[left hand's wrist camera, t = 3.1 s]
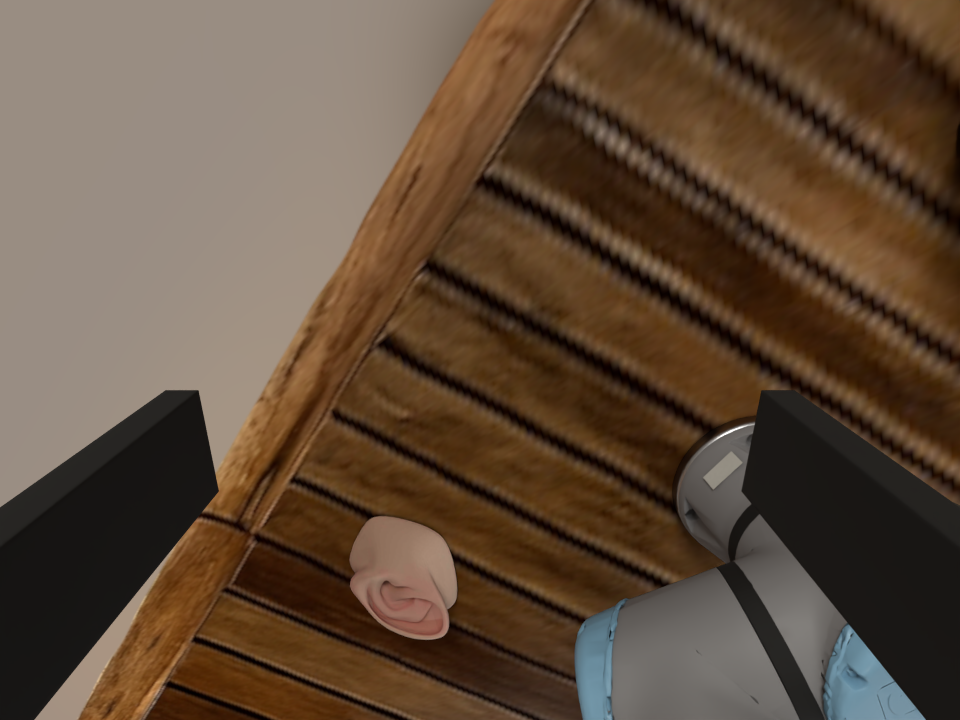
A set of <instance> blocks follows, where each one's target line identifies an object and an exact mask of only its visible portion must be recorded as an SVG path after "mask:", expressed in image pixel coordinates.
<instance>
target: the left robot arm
mask: <svg viewBox="0 0 960 720" xmlns="http://www.w3.org/2000/svg"><path fill="white" fill-rule="evenodd" d="M218 492H219V490H218V485H217V480H216V475H215V470H214V465H213V460H212V455H211V450H210V445H209V440H208V436H207V430H206V425H205V420H204V415H203V411H202V406H201V401H200V396H199V391H198V390H166V391H164V392H163V393H161V394H160V395H158V396H157V397H156V398H154V399H153V400H151V401H150V402H149V403H147V404H146V405H144V406H143V407H141V408H140V409H139V410H137V411H136V412H134V413H133V414H132V415H130V416H129V417H127V418H126V419H124V420H123V421H122V422H120V423H119V424H117V425H116V426H115V427H113V428H112V429H110V430H109V431H108V432H106V433H105V434H103V435H102V436H101V437H99V438H98V439H96V440H95V441H93V442H92V443H91V444H89V445H88V446H86V447H85V448H84V449H82V450H81V451H79V452H78V453H76V454H75V455H74V456H72V457H71V458H69V459H68V460H67V461H65V462H64V463H62V464H61V465H60V466H58V467H57V468H55V469H54V470H53V471H51V472H50V473H48V474H47V475H45V476H44V477H43V478H41V479H40V480H38V481H37V482H36V483H34V484H33V485H31V486H30V487H28V488H27V489H26V490H24V491H23V492H21V493H20V494H19V495H17V496H16V497H14V498H13V499H12V500H10V501H9V502H7V503H6V504H4V505H3V506H2V507H0V720H34V719H35V718H36V717H37V716H38V714H39V713H40V712H41V711H42V709H43V708H44V707H45V706H46V705H47V703H48V702H49V701H50V700H51V698H52V697H53V696H54V695H55V693H56V692H57V691H58V690H59V688H60V687H61V686H62V685H63V683H64V682H65V681H66V680H67V678H68V677H69V676H70V675H71V674H72V672H73V671H74V670H75V669H76V667H77V666H78V665H79V664H80V662H81V661H82V660H83V659H84V657H85V656H86V655H87V654H88V653H89V651H90V650H91V649H92V647H93V646H94V645H95V644H96V643H97V641H98V640H99V639H100V638H101V636H102V635H103V634H104V633H105V631H106V630H107V629H108V628H109V626H110V625H111V624H112V623H113V622H114V620H115V619H116V618H117V617H118V615H119V614H120V613H121V612H122V610H123V609H124V608H125V607H126V605H127V604H128V603H129V602H130V601H131V599H132V598H133V597H134V596H135V594H136V593H137V592H138V591H139V589H140V588H141V587H142V586H143V584H144V583H145V582H146V581H147V579H148V578H149V577H150V576H151V574H152V573H153V572H154V571H155V570H156V568H157V567H158V566H159V565H160V563H161V562H162V561H163V560H164V558H165V557H166V556H167V555H168V553H169V552H170V551H171V550H172V549H173V547H174V546H175V545H176V544H177V542H178V541H179V540H180V539H181V537H182V536H183V535H184V534H185V532H186V531H187V530H188V529H189V527H190V526H191V525H192V524H193V523H194V521H195V520H196V519H197V518H198V516H199V515H200V514H201V513H202V511H203V510H204V509H205V508H206V506H207V505H208V504H209V503H210V501H211V500H212V499H213V498H214V497H215V495H216V494H217V493H218ZM673 501H674V505H675V509H676V511H677V513H678V515H679V517H680V519H681V521H682V522H683V524H684V526H685V528H686V529H687V530H688V532H689V533H690V534H691V535H692V536H693V537H694V538H695V539H696V540H697V541H698V542H699V543H700V544H701V545H702V546H704V547H705V548H706V549H708V550H709V551H710V552H712V553H713V554H714V555H716V556H717V557H718V558H720V559H721V560H722V561H724V562H725V563H726V564H724V565H721V566H719V567H716V568H713V569H710V570H708V571H705V572H702V573H700V574H697V575H694V576H692V577H689V578H686V579H684V580H681V581H678V582H675V583H673V584H670V585H667V586H664V587H662V588H659V589H656V590H653V591H651V592H648V593H645V594H642V595H640V596H637V597H634V598H632V599H627V598H626V599H623V600H621V601H620V602H619V603H617V605H616V606H614V607H611V608H609V609H607V610H605V611H602V612H600V613H598V614H595V615H593V616H591V617H589V618H588V619H587V620H586V621H585V622H584V623H583V624H582V626H581V627H580V630H579V632H578V635H577V640H576V644H575V673H576V683H577V690H578V696H579V702H580V707H581V712H582V717H583V720H960V505H958V504H955V503H953V502H951V501H950V500H949V499H947V498H946V497H944V496H943V495H941V494H940V493H939V492H937V491H936V490H934V489H933V488H932V487H930V486H929V485H927V484H926V483H925V482H923V481H922V480H920V479H919V478H917V477H916V476H915V475H913V474H912V473H910V472H909V471H908V470H906V469H905V468H903V467H902V466H900V465H899V464H898V463H896V462H895V461H893V460H892V459H891V458H889V457H888V456H886V455H885V454H884V453H882V452H881V451H879V450H878V449H876V448H875V447H874V446H872V445H871V444H869V443H868V442H867V441H865V440H864V439H862V438H861V437H860V436H858V435H857V434H855V433H854V432H852V431H851V430H850V429H848V428H847V427H845V426H844V425H843V424H841V423H840V422H838V421H837V420H836V419H834V418H833V417H831V416H830V415H828V414H827V413H826V412H824V411H823V410H821V409H820V408H819V407H817V406H816V405H814V404H813V403H812V402H810V401H809V400H807V399H806V398H804V397H803V396H802V395H800V394H799V393H797V392H796V391H795V390H762V391H761V396H760V401H759V406H758V410H757V415H756V416H750V417H744V418H740V419H736V420H733V421H730V422H728V423H725V424H723V425H721V426H719V427H717V428H715V429H713V430H712V431H710V432H709V433H707V434H706V435H704V436H703V437H702V438H701V439H699V440H698V441H697V442H696V443H695V444H694V445H693V446H692V447H691V448H690V450H689V451H688V452H687V453H686V455H685V456H684V458H683V459H682V461H681V463H680V465H679V467H678V469H677V472H676V475H675V478H674V483H673Z"/></svg>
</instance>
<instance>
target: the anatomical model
mask: <svg viewBox="0 0 960 720" xmlns="http://www.w3.org/2000/svg"><path fill="white" fill-rule="evenodd" d="M350 564H351V567H352V569H353V571H354V572H355V573H356V574H355V575H354V576H353V577H352V579H351V583H350V587H351V590H352V591H353V593H354V594H355V595H356V597H357V598H358V599H359V600H360V602H361V603H362V604H363V605H364V607H365V608H366V609H367V610H368V611H369V613H370V614H371V615H372V616H373V617H374V618H375V619H376V620H377V621H378V622H379V623H380V624H382V625H383V626H384V627H386V628H388V629H389V630H391V631H394V632H396V633H398V634H401V635H403V636H406V637H410V638H414V639H423V640H431V639H437V638H440V637H443V636H444V635H445V634H446V633H447V631H448V628H449V615H448V611H447V609H449V608H450V607H451V606H452V605H453V604H454V603H455V601H456V598H457V580H456V573H455V568H454V563H453V559H452V556H451V553H450V550H449V548H448V546H447V544H446V542H445V540H444V539H443V538H442V537H441V536H440V535H439V534H438V533H436V532H435V531H433V530H432V529H430V528H428V527H426V526H423V525H421V524H418V523H415V522H412V521H408V520H404V519H400V518H395V517H388V516H378V517H374V518H371V519H370V520H368V521H367V522H366V523H365V525H364V526H363V528H362V529H361V531H360V533H359V535H358V536H357V538H356V540H355V542H354V545H353V548H352V551H351V554H350Z"/></svg>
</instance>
